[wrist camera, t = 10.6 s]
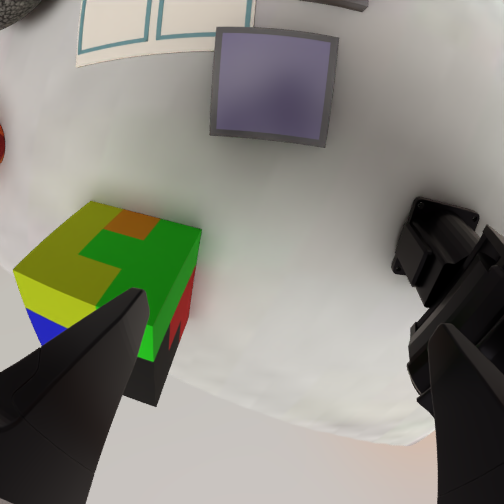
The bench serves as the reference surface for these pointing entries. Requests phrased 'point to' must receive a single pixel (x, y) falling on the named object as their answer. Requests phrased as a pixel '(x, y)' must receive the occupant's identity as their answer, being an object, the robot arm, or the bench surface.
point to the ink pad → (272, 84)
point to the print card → (154, 26)
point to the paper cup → (2, 144)
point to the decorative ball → (15, 10)
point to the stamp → (345, 3)
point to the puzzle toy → (114, 281)
